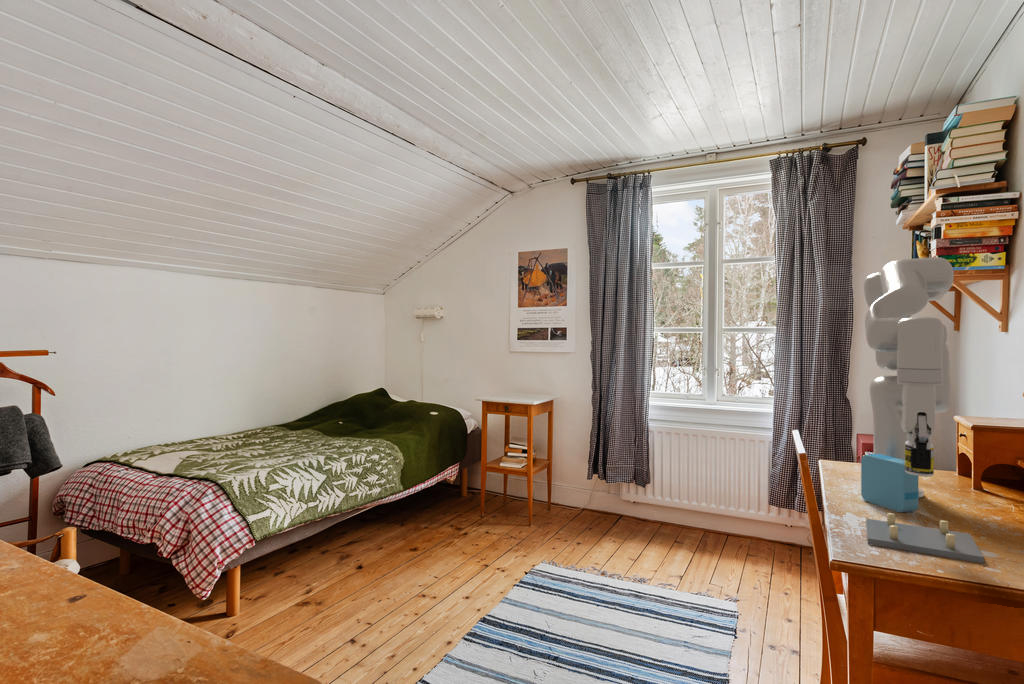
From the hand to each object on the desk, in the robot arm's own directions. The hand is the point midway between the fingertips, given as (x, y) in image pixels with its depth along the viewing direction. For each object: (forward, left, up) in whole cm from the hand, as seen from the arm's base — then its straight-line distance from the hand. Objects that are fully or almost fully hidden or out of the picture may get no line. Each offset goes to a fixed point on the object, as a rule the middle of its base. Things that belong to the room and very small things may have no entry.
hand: (919, 464), depth 110 cm
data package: (-26, -4, -16) cm, 30 cm away
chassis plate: (0, 0, -16) cm, 16 cm away
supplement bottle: (0, 0, -2) cm, 2 cm away
